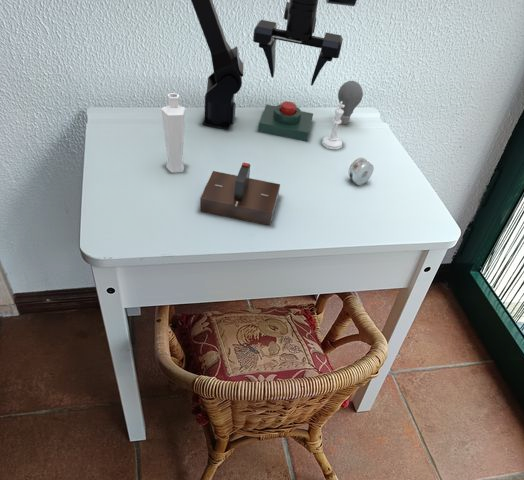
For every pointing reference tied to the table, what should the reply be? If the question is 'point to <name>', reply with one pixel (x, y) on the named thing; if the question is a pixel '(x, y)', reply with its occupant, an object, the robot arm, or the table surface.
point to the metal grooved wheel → (360, 171)
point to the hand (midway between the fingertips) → (292, 80)
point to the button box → (285, 123)
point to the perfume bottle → (174, 133)
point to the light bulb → (349, 98)
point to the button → (288, 108)
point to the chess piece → (334, 131)
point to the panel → (250, 208)
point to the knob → (242, 181)
